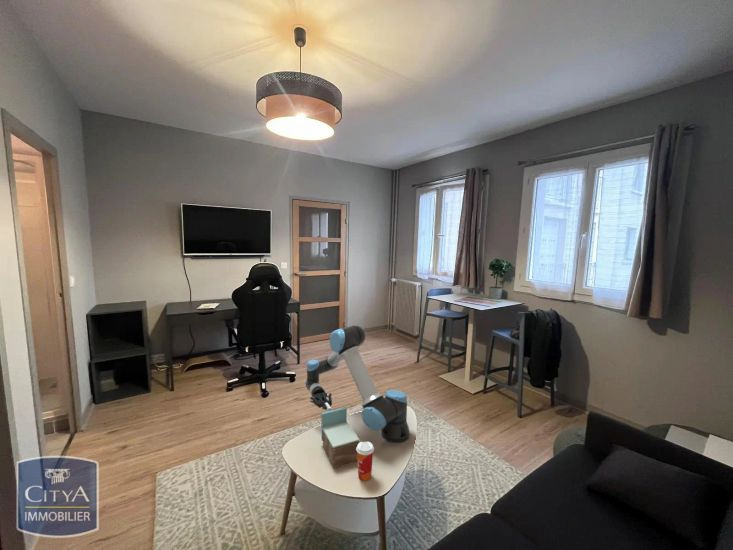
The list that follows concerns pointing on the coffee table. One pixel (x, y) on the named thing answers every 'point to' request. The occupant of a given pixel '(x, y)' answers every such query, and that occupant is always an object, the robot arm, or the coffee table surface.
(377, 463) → the coffee table surface
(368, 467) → the pill bottle
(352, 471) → the coffee table surface
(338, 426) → the teal l-shaped piece
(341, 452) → the walnut box
